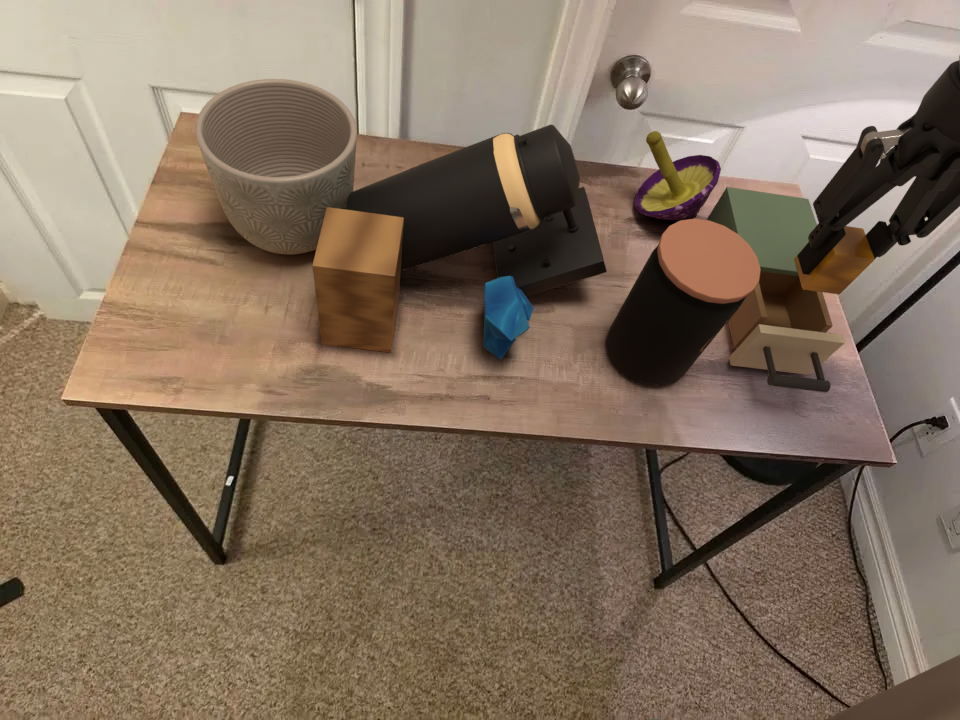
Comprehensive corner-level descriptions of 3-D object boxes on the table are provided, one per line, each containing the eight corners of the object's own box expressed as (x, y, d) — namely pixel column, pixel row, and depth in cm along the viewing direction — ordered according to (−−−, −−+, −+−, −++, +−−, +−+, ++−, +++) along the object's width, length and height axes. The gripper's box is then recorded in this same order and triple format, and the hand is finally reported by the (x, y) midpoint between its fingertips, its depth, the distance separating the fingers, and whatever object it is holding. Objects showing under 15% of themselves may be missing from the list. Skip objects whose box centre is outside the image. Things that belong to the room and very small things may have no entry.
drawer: (818, 411, 77) (857, 381, 71) (737, 402, 76) (769, 371, 70) (787, 296, 87) (819, 261, 80) (715, 287, 86) (741, 250, 79)
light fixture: (347, 165, 76) (553, 85, 69) (411, 257, 90) (588, 198, 83) (342, 244, 69) (573, 163, 62) (413, 330, 83) (607, 272, 76)
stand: (399, 298, 78) (404, 217, 66) (391, 352, 74) (395, 276, 62) (333, 290, 77) (326, 206, 66) (321, 344, 73) (312, 265, 61)
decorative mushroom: (696, 137, 77) (736, 230, 85) (698, 89, 85) (734, 178, 93) (603, 176, 84) (648, 258, 92) (612, 128, 92) (653, 208, 100)
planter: (237, 171, 85) (214, 68, 73) (365, 186, 87) (364, 88, 75) (208, 268, 76) (176, 170, 64) (351, 282, 78) (347, 189, 66)
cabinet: (793, 319, 86) (834, 276, 78) (711, 308, 85) (745, 264, 77) (772, 244, 93) (808, 198, 85) (697, 233, 92) (726, 186, 84)
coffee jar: (687, 398, 76) (765, 309, 61) (601, 378, 76) (658, 284, 61) (686, 327, 82) (757, 231, 67) (607, 309, 82) (660, 208, 67)
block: (829, 264, 74) (863, 228, 69) (839, 294, 71) (875, 259, 66) (793, 259, 73) (824, 222, 68) (802, 289, 71) (835, 254, 66)
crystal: (542, 266, 76) (561, 333, 68) (512, 318, 82) (525, 386, 73) (486, 249, 74) (498, 316, 65) (458, 304, 79) (466, 373, 71)
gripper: (1074, 70, 54) (887, 253, 74) (883, 37, 52) (744, 232, 72) (1118, 128, 50) (908, 304, 70) (912, 93, 48) (756, 284, 68)
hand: (825, 267), depth 71 cm, fingers closed on block, 4 cm apart
